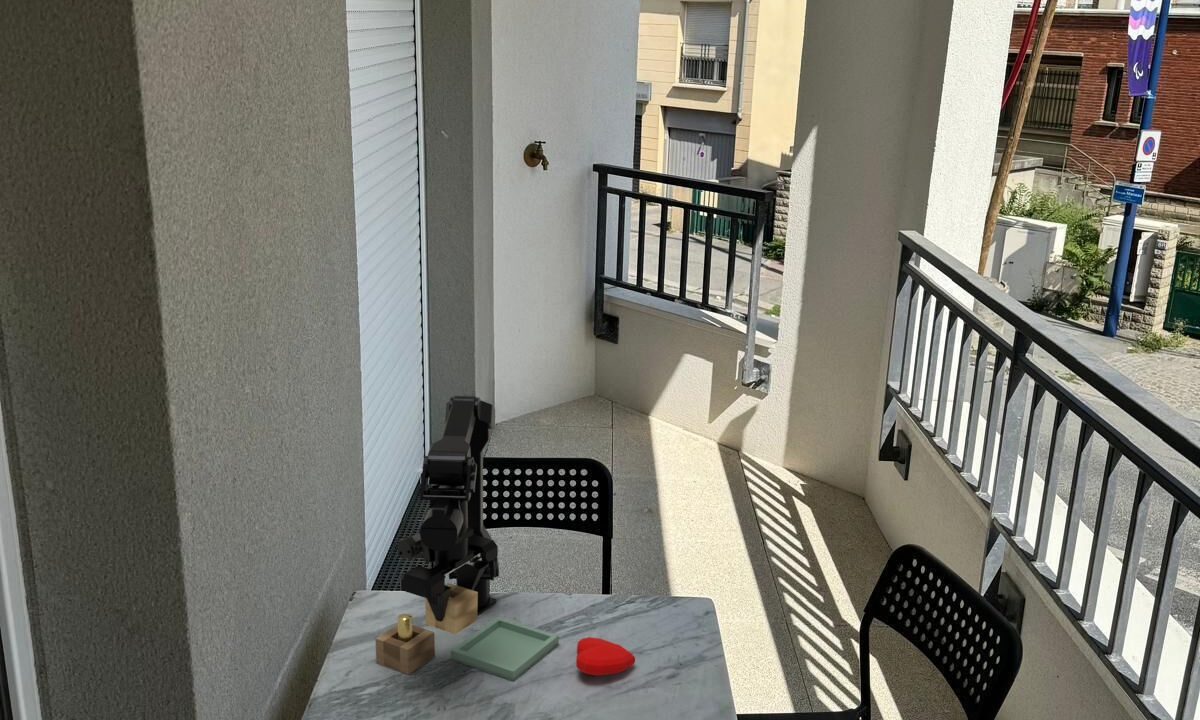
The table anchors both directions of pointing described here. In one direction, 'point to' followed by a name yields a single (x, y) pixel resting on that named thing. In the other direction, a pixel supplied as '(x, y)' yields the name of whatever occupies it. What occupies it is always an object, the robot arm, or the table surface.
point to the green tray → (505, 648)
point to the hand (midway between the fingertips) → (451, 612)
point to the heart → (602, 657)
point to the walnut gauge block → (405, 649)
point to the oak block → (455, 610)
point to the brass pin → (405, 627)
